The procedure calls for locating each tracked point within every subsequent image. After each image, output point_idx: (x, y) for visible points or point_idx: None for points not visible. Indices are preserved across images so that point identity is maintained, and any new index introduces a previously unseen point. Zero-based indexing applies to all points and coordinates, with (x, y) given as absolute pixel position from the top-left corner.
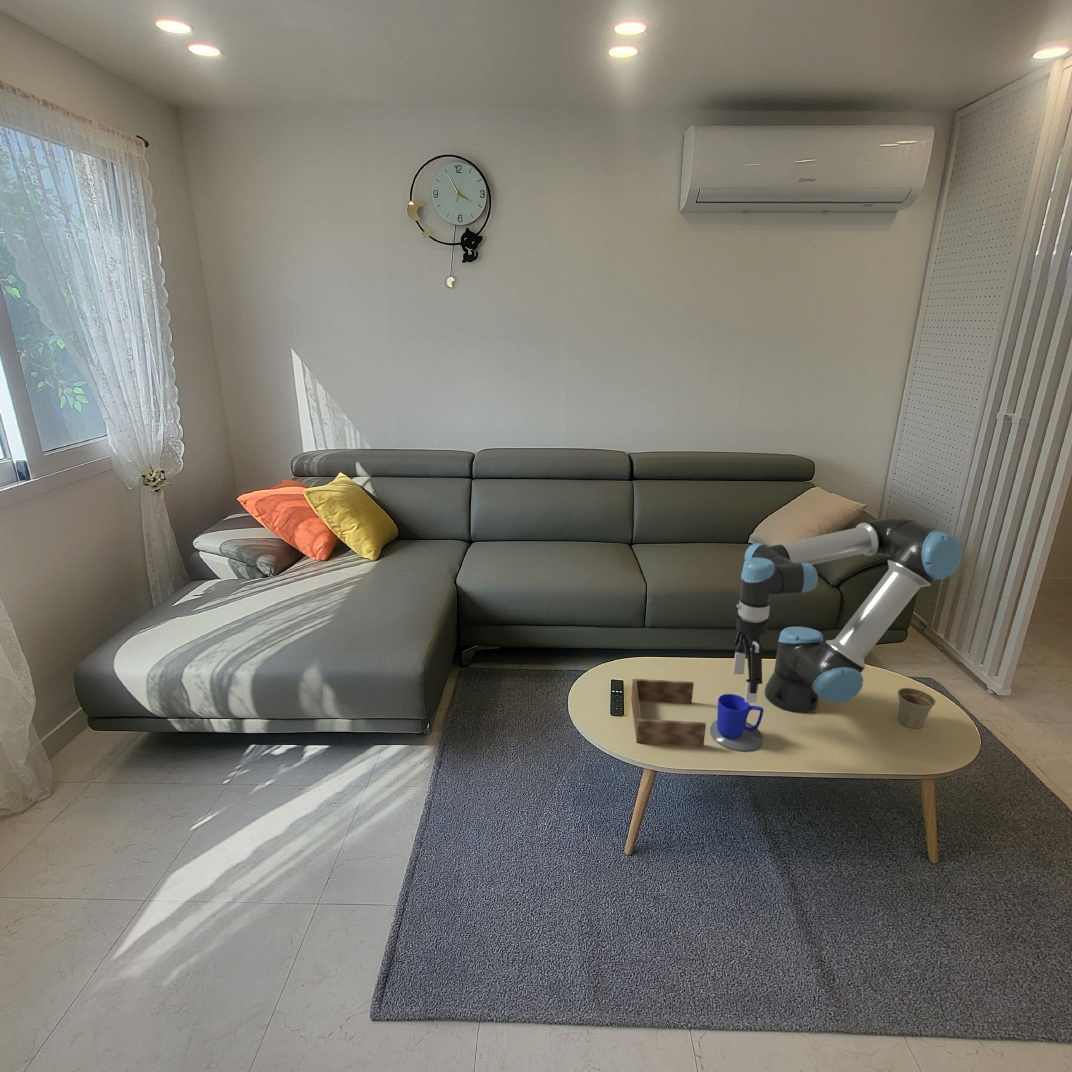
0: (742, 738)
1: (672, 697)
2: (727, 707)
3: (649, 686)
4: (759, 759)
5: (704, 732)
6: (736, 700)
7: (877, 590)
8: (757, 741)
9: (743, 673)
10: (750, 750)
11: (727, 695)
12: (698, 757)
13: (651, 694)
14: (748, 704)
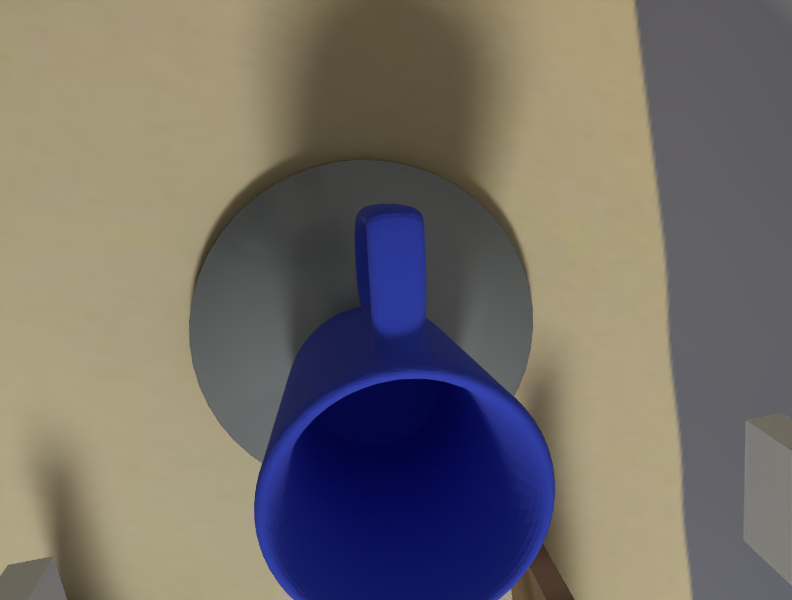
0: None
1: None
2: (301, 478)
3: None
4: (584, 203)
5: (562, 581)
6: (289, 453)
7: None
8: (425, 201)
9: (46, 569)
10: (515, 252)
11: (285, 558)
12: (618, 532)
13: None
14: (418, 373)
